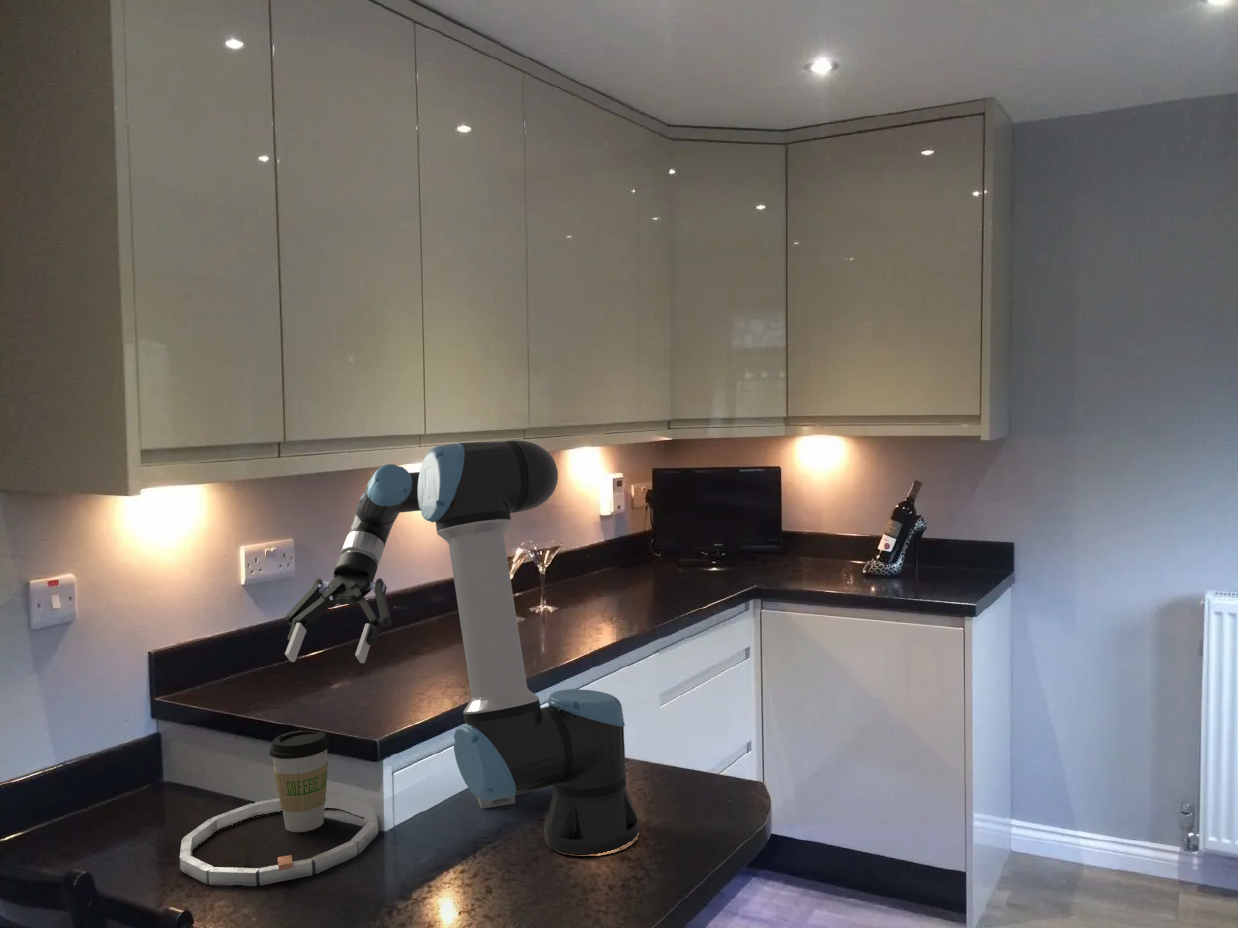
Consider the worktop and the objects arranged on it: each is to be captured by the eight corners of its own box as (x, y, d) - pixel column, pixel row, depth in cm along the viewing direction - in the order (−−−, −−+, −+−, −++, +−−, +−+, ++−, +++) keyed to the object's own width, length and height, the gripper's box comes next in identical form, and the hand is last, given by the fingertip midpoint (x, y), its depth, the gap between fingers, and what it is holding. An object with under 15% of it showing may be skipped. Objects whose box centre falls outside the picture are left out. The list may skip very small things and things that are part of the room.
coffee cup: (317, 837, 164) (311, 747, 163) (262, 835, 166) (256, 746, 165) (345, 813, 174) (339, 728, 173) (293, 811, 176) (287, 727, 175)
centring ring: (389, 861, 154) (388, 843, 154) (176, 904, 143) (175, 885, 143) (364, 794, 182) (363, 778, 182) (185, 825, 172) (184, 809, 171)
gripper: (426, 572, 191) (396, 670, 178) (307, 572, 197) (270, 667, 183) (413, 548, 186) (382, 648, 172) (291, 549, 191) (251, 646, 177)
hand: (324, 658), depth 178 cm, fingers open, 13 cm apart
